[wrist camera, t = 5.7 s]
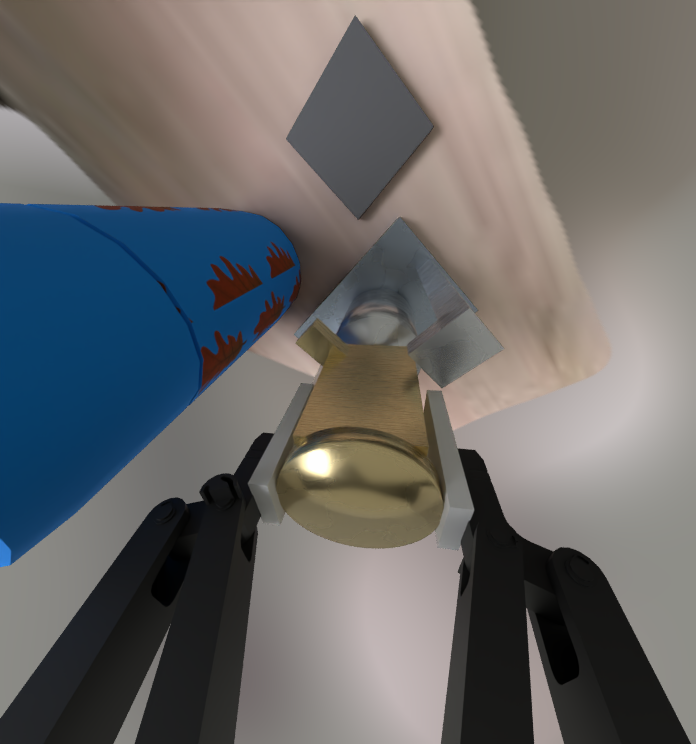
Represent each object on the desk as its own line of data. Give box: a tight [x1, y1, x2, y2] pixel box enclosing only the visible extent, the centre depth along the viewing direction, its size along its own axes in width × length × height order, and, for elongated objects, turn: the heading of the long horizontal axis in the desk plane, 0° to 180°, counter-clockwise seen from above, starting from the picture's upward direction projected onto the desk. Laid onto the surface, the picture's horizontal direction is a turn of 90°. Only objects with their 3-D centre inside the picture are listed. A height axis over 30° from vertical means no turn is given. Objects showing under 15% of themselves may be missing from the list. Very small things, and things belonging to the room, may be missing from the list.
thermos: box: [0, 203, 301, 567], centre depth 17 cm, size 11×11×25 cm
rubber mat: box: [286, 15, 434, 219], centre depth 20 cm, size 8×8×1 cm
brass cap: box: [276, 318, 444, 548], centre depth 14 cm, size 11×7×9 cm, turn 47°
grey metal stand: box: [294, 217, 504, 388], centre depth 21 cm, size 11×15×16 cm
